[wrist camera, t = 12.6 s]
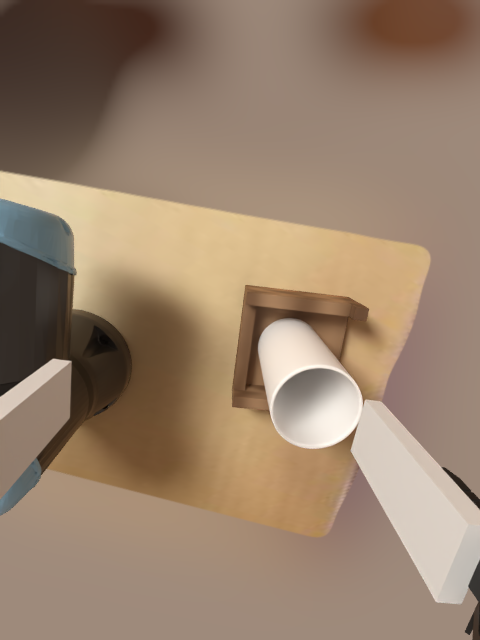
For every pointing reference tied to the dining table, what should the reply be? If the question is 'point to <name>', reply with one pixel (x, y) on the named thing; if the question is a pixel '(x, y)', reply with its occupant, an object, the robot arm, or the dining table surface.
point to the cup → (307, 386)
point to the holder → (274, 305)
